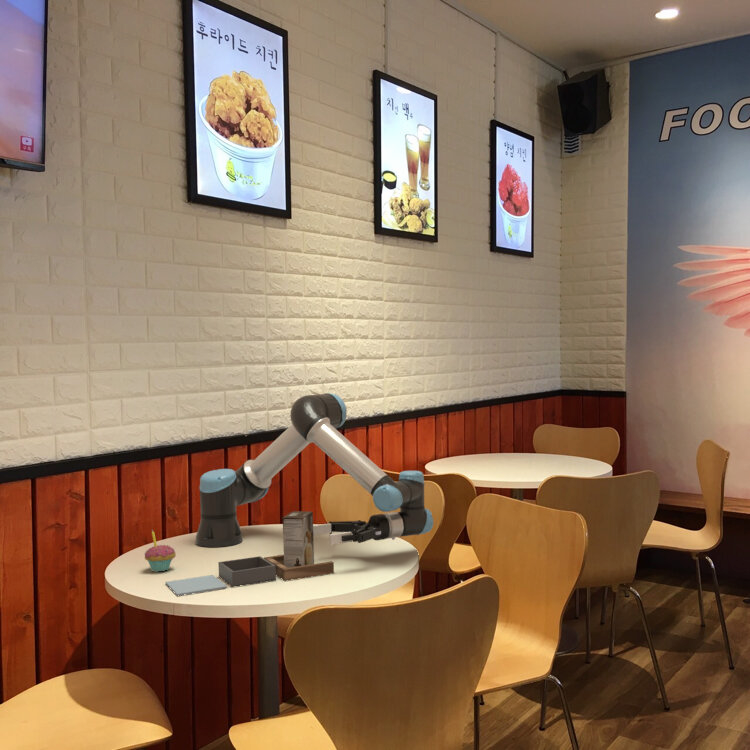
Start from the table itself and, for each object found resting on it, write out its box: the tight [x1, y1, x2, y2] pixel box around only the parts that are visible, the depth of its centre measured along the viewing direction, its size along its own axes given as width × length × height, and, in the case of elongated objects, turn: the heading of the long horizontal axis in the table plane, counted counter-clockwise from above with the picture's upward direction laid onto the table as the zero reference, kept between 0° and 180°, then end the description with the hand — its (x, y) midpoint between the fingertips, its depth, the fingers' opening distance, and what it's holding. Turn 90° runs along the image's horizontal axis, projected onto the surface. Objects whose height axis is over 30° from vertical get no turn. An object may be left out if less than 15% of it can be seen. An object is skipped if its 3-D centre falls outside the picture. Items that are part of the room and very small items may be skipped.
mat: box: [165, 574, 228, 597], centre depth 210 cm, size 13×13×1 cm
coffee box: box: [282, 510, 315, 568], centre depth 224 cm, size 9×6×16 cm
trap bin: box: [217, 556, 277, 588], centre depth 217 cm, size 12×12×4 cm
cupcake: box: [144, 529, 176, 572], centre depth 227 cm, size 9×8×12 cm
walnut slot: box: [263, 554, 335, 581], centre depth 224 cm, size 16×15×3 cm
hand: (320, 535), depth 226 cm, fingers open, 13 cm apart
